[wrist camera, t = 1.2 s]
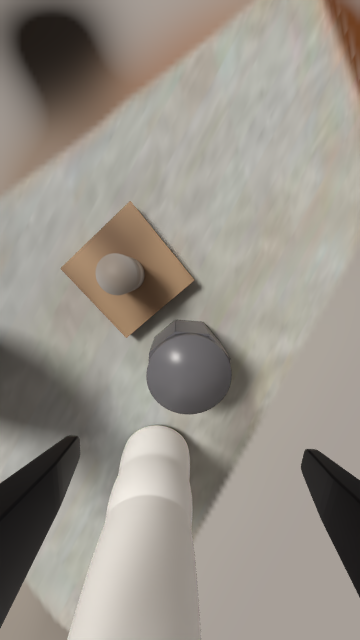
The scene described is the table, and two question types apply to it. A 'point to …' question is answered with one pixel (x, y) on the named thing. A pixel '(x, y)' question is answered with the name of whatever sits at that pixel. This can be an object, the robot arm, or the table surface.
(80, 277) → the stud block
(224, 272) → the table surface
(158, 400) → the cap
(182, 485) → the water bottle
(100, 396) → the table surface
